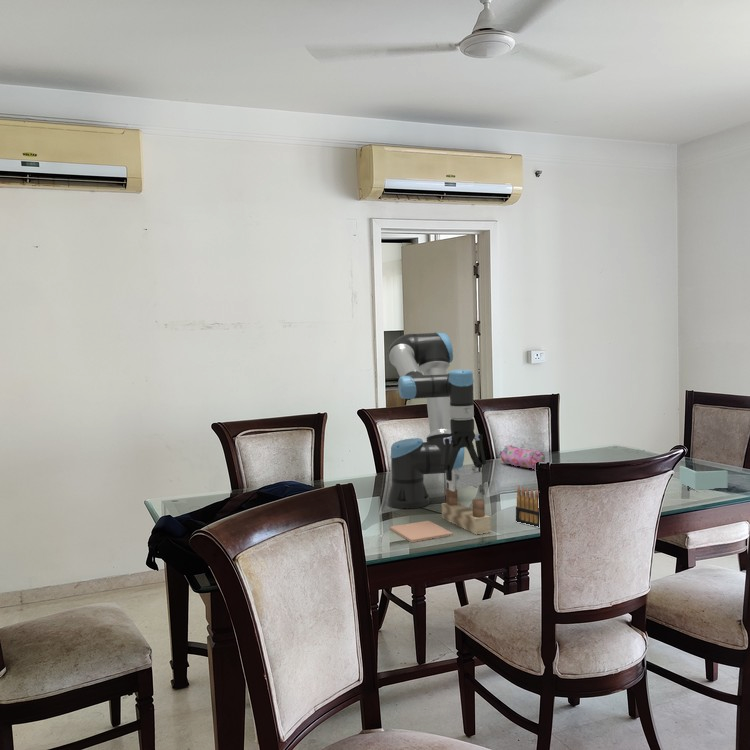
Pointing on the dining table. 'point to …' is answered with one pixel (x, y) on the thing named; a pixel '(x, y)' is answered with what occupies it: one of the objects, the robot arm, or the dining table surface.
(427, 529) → the mat
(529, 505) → the ammunition clip
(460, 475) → the brushed metal block
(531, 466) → the pencil case
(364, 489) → the dining table surface
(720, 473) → the l-shaped corner panel
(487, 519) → the wooden peg stand
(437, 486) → the dining table surface
